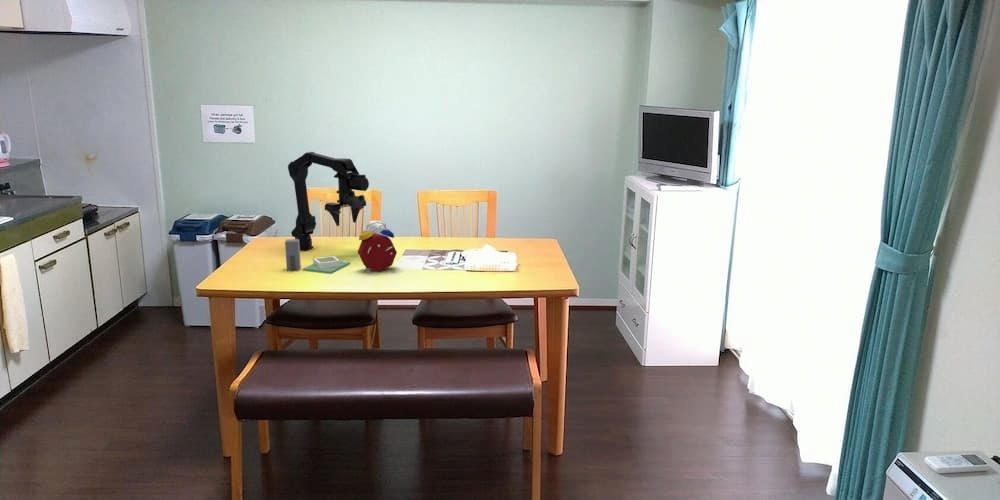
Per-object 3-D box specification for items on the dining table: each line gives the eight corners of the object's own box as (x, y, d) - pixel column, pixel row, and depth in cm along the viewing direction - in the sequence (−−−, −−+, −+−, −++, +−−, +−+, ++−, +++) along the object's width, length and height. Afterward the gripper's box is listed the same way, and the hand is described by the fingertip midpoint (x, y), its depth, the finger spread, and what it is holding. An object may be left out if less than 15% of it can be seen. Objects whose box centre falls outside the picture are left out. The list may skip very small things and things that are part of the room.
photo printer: (368, 245, 333) (367, 219, 329) (376, 244, 335) (375, 218, 332) (379, 250, 325) (378, 223, 322) (387, 248, 328) (386, 222, 324)
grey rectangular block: (288, 268, 296) (286, 239, 293) (300, 267, 296) (299, 239, 293) (286, 271, 291) (284, 242, 288) (299, 270, 292) (297, 241, 289)
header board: (302, 270, 292) (302, 262, 291) (322, 261, 306) (322, 253, 305) (331, 273, 288) (330, 265, 288) (350, 264, 302) (349, 256, 301)
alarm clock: (393, 266, 300) (392, 219, 295) (398, 271, 292) (397, 223, 287) (358, 269, 295) (356, 221, 290) (362, 275, 287) (360, 225, 282)
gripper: (340, 194, 297) (341, 230, 301) (374, 188, 311) (375, 223, 315) (323, 190, 303) (324, 226, 308) (357, 185, 318) (357, 219, 322)
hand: (346, 224), depth 313 cm, fingers open, 9 cm apart
